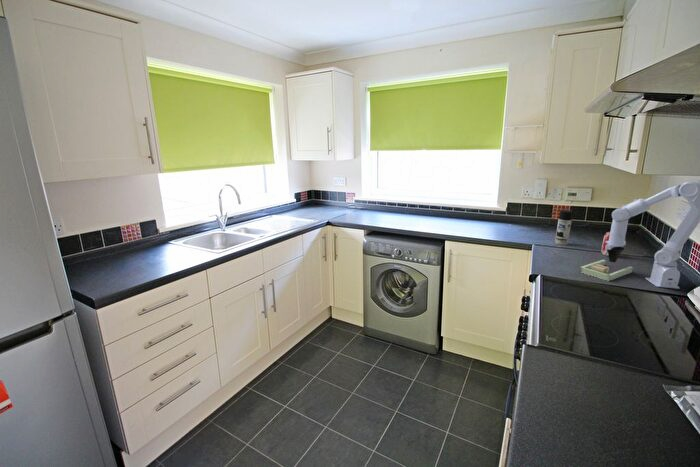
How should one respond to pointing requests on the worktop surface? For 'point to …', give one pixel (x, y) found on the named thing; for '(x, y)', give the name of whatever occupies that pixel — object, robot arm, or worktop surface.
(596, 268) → the maple block
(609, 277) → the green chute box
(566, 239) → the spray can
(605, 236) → the soda can
